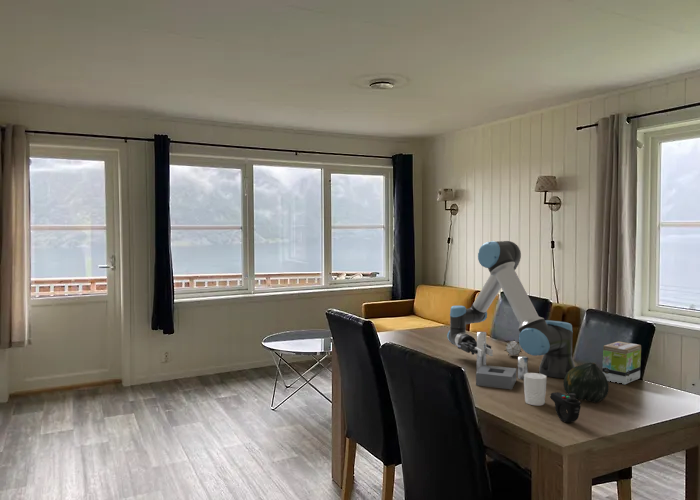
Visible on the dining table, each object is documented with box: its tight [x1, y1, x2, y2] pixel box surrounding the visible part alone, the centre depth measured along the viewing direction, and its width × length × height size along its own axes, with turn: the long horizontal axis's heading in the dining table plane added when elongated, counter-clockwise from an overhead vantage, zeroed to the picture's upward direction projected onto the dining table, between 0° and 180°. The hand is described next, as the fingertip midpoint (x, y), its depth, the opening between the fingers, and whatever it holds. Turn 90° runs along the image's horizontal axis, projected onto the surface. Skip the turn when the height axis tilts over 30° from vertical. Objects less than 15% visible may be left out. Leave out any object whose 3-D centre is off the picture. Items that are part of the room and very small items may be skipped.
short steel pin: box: [517, 355, 529, 381], centre depth 225 cm, size 4×4×9 cm
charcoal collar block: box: [475, 364, 517, 390], centre depth 219 cm, size 14×14×5 cm
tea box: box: [601, 341, 642, 385], centre depth 223 cm, size 15×10×15 cm, turn 131°
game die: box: [504, 339, 523, 357], centre depth 264 cm, size 9×8×10 cm
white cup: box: [523, 372, 548, 407], centre depth 194 cm, size 8×8×10 cm
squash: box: [563, 362, 610, 403], centre depth 197 cm, size 14×15×15 cm
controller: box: [549, 392, 582, 423], centre depth 175 cm, size 4×12×10 cm, turn 14°
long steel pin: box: [476, 331, 487, 372], centre depth 233 cm, size 4×4×18 cm
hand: (486, 353), depth 228 cm, fingers closed on long steel pin, 4 cm apart
